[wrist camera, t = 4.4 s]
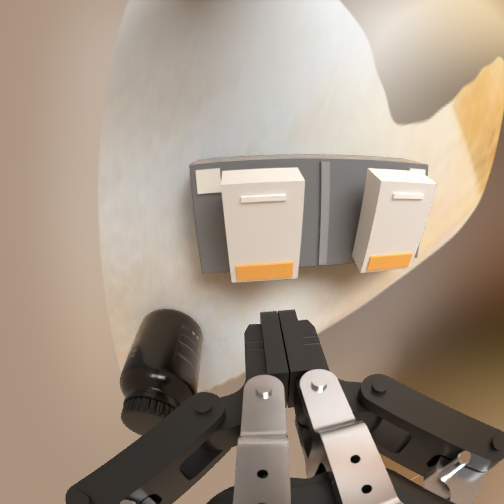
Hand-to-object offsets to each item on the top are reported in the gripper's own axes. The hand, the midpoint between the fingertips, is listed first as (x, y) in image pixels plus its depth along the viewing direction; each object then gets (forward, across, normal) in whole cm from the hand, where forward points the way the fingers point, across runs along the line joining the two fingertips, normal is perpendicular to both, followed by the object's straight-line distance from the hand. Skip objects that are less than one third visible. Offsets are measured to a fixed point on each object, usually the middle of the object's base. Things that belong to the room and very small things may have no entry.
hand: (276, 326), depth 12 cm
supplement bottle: (+13, +10, +11) cm, 19 cm away
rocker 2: (+7, -9, -2) cm, 11 cm away
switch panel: (+13, -4, -2) cm, 14 cm away
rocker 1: (+7, 0, -2) cm, 7 cm away
